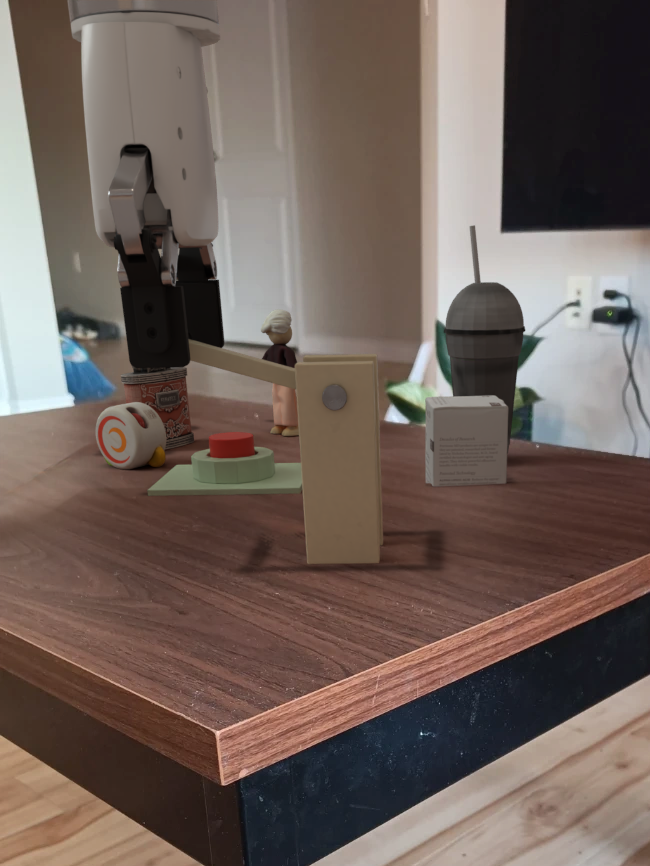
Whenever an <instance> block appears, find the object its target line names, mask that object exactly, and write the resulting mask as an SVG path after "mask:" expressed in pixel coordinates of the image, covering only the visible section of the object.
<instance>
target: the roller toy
mask: <svg viewBox="0 0 650 866" xmlns="http://www.w3.org/2000/svg"><path fill="white" fill-rule="evenodd" d="M95 440H96V443H97V448H98V449H99V451H100V453H101V455H102V456H103V459H104V460H105V462H106V463H107V464H108V465H109V466H110V467H115V468H116V469H119V470H125V471H126V470H128V471H129V470H133V469H138V468H141V467H144V466H150V467H152V468H161V467H162V466H164V464H165V463H166V458H167V456H166V452H165V451H166V449H165V447H166V432H165V428H164V425H163V422H162V420H161V418H160V417H159V415H158V414H157V413H156V412H155V410H153V409H152V408H151V407H150V406H148V405H146V404H144V403H141V402H132V403H127V404H126V403H122V404H117V405H111V406H109V407H107V408H105V409H104V410H102V412H101V413H100V414H99V416H98V417H97V420H96V424H95Z"/></svg>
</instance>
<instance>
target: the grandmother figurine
mask: <svg viewBox="0 0 650 866" xmlns="http://www.w3.org/2000/svg"><path fill="white" fill-rule="evenodd" d="M292 321H293V319H292V315H291V313H290V312H289V311H288V310H284V309H279V308H278V309H274V310H272V311H270V313H268V315H266V317H265V319H264V321H263V323H262V324H261V327H260V332H261V333H262V334H266V335H267V337H268V339H269V340H270V342H271V343H272V345H271V346H269V347H268V349H266V351H265V352H264V354H263V356H262V357H261V359H263V360H266V361H270V362H274V363H277V364H281V365H284V366H288V367H292V368H295V364H296V363H298V360H297V356H296V352H295V351H294V349H292V348H290V347H289V346H288V344H289V343H290V341H292V338H293V329H292V326H291V325H292ZM271 395H272V411H273V413H272V414H273V425H274V426H273V427H272V428H271V430H270V434H272V435H280V434H281V436H282V437H294V436H295V437H296V436H298V437H299V426H298V410H297V395H296V389H292V388H289V387H285V386H281V385H278V384H274V383H272V391H271Z"/></svg>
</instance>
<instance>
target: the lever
mask: <svg viewBox="0 0 650 866" xmlns="http://www.w3.org/2000/svg"><path fill="white" fill-rule="evenodd" d="M188 339H189V349H190V362H194V363H199V364H201V365H206V366H209V367H213V368H215V369H221V370H224V371H227V372H231V373H234V374H238V375H243V376H245V377H248V378H252V379H255V380H260V381H263V382H267V383H271V384H273V383H274V384H278V385H281V386H285V387H289V388H292V389H295V390H296V379H295V368H292V367H288V366H284V365H281V364H277V363H274V362H270V361H266V360H263V359H262V358H259V357H255V356H252V355H248V354H244V353H241V352H238V351H234V350H230V349H226V348H224V347H222V348H219V347H216V346H212V345H208V344H205V343H201V342H198V341H194V340H193V339H192V336H191V334H190V333H189V332H188Z"/></svg>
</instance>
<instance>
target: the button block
mask: <svg viewBox="0 0 650 866" xmlns="http://www.w3.org/2000/svg"><path fill="white" fill-rule="evenodd" d="M254 450H255V455H253V456H249V457H241V458H213V457H210V448H207V449H203V450H198V451H195V452H194V453H193V454H192V455H191V456H190V460H191V464H176V465H174V467H172V468H171V469H170V470H168V471H167V473H165V474H164V475H163V476H162V477H161V478H160V479H158V480H157V481H156V482H155V483H154V484H153V485H151V486H150V487H149V488H148V489H147V491H146V492H147V496H148V497H153V496H154V497H159V496H161V497H162V496H164V497H165V496H167V497H169V496H215V495H216V496H227V495H228V496H229V495H231V496H232V495H233V496H234V495H290V494H292V495H294V494H296V495H297V494H301V492H303V489H302V473H301V462H275V453H274V452H275V451H274V450H272V449H270V448H267V447H263V446H254Z"/></svg>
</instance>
